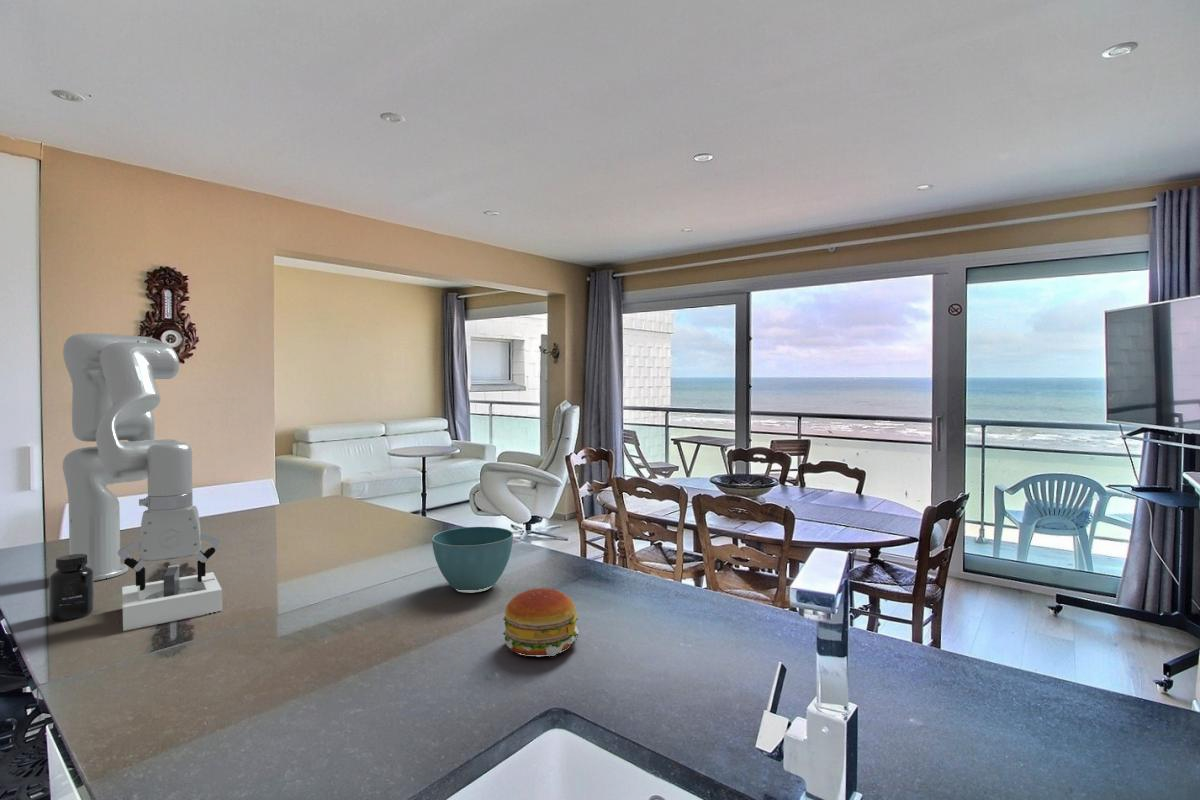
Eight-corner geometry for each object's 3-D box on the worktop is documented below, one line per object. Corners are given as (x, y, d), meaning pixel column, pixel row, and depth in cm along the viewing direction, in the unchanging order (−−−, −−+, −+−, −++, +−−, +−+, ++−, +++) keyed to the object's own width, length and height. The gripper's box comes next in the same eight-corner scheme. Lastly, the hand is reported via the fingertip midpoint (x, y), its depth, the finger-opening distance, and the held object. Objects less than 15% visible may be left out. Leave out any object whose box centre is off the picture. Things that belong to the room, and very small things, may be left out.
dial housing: (122, 608, 125) (122, 586, 125) (213, 591, 135) (213, 571, 135) (123, 631, 113) (122, 606, 113) (222, 611, 123) (222, 588, 123)
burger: (495, 638, 110) (494, 584, 110) (564, 626, 115) (564, 575, 115) (514, 670, 98) (514, 609, 97) (590, 655, 103) (590, 598, 103)
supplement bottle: (67, 623, 117) (66, 562, 117) (39, 620, 118) (38, 560, 118) (103, 610, 123) (101, 553, 123) (76, 608, 125) (75, 551, 125)
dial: (195, 604, 122) (195, 572, 122) (140, 612, 118) (140, 579, 118) (200, 591, 130) (200, 561, 130) (149, 598, 126) (148, 567, 125)
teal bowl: (415, 595, 132) (414, 540, 132) (463, 572, 149) (463, 523, 149) (485, 606, 126) (484, 548, 125) (527, 580, 142) (527, 529, 142)
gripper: (114, 510, 115) (116, 597, 116) (220, 500, 125) (221, 581, 125) (119, 504, 122) (120, 587, 122) (219, 495, 131) (220, 572, 132)
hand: (171, 584), depth 124 cm, fingers open, 9 cm apart
